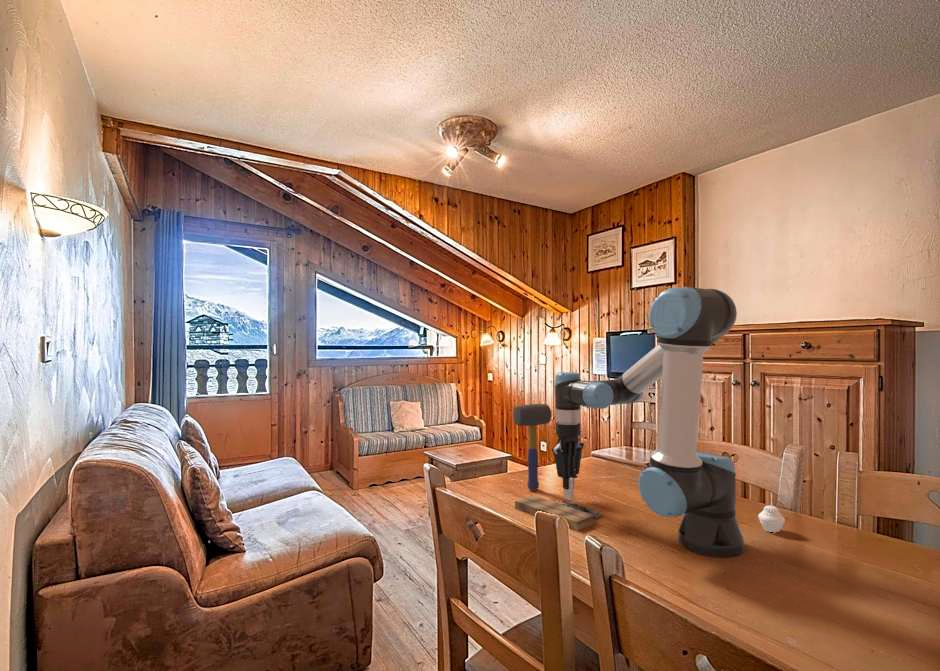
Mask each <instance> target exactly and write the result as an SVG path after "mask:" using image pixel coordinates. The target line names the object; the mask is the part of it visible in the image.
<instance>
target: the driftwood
mask: <svg viewBox="0 0 940 671" xmlns="http://www.w3.org/2000/svg"><path fill="white" fill-rule="evenodd" d="M561 501H562V502H563V503H565V504H566V505H567V507H568V506H569V507H571V508H574V509H577V510H580V511H583V512H586V513H589V514H592V515H595V520H597V519H598V518H599V517H601V516H603V515H604V514H603V513H602V512H600V511H597V510H594V509H593V508H590V507H588V506H587V507H586V506H583V505H580V504H579V503H572V502H569V501H568V500H566V499H565V500H561ZM563 503H562V504H563ZM566 505H565V506H566Z"/></svg>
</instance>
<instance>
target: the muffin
mask: <svg viewBox="0 0 940 671" xmlns="http://www.w3.org/2000/svg"><path fill="white" fill-rule="evenodd" d="M758 519H759V522H760V524H761V527H762V528H763V529H764V531H765V530H766V531H769V532H779V533H780V531H781V529H783V527H784V523H785V522H786V519H785V517H784V516H783V515H782V514H781V512H780V509H779V508H778V507H776V506H774V505H772V504H771V505H765V506H763V510H762V511H761V512H760V513H758ZM766 531H765V532H766ZM769 532H768V533H769Z"/></svg>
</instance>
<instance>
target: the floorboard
mask: <svg viewBox="0 0 940 671" xmlns="http://www.w3.org/2000/svg"><path fill="white" fill-rule="evenodd" d="M514 509H515V510H519V511H521V512H523V513H526V514H530V515H532V516H534V517H536V516H535V513H536V512H537V511H542V512H546V513H550V514H555V515H558V516H561V517H563V518H565V519H566V520H567V522H568V524H569V528H568V529H570V528H571V530H573V529H574V531H577V532H578V531H580V530H583V529H585V528H588V527H590V526H592V525H595V524H596V519H595V515H592V514H589V513H586V512H583V511H580V510H577V509H574V508H571V507H568V506H566V505H564V504H562V503H557V502H553V501H552V500H549V499H546V498H542V497H539V496H535V495H530V496H526V497H522V498H518V499H516V500H514Z"/></svg>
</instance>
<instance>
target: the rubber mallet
mask: <svg viewBox="0 0 940 671" xmlns="http://www.w3.org/2000/svg"><path fill="white" fill-rule="evenodd" d="M512 419H513V422H514V424H515V425H516V426H518V427H519V426H520V427H522V426H523V427H526V426H527V427H528V449H527V459H526V460H527V461H526V462H527V468H528V469H527V470H528V474H527V475H528V476H527V477H528V478H527V479H528V480H527V487H528V490H529V491H534V492H535V491H538V489H539V486H540V483H539V479H538V478H539V477H538V476H539V475H538V468H539V455H538V448H537V426H540V425H541V426H542V425H545V424H549V423H550V422H551V420H552V409H551V408H550V406H549V405H548V404H546V403H529V404H522V405H516V406H515V407H514V408H513V411H512Z"/></svg>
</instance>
